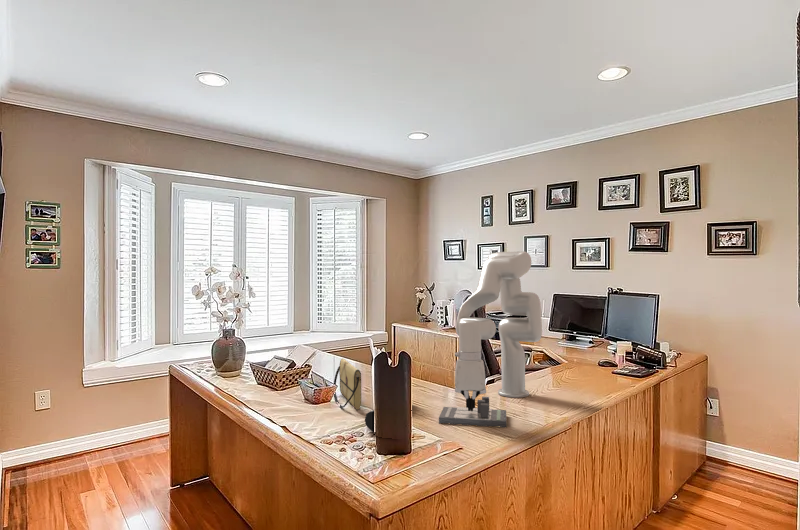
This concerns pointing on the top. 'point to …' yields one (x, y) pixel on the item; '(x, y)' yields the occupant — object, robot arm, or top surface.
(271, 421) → the top surface
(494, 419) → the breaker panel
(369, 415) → the end cap
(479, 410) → the handle
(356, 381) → the clutch purse
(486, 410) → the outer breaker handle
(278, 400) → the top surface
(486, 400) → the handle
